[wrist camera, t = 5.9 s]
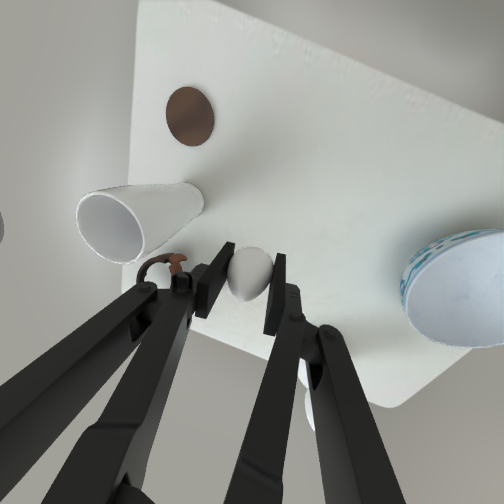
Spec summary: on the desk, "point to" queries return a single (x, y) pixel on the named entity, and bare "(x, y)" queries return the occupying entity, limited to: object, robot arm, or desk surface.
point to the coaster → (189, 116)
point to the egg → (249, 273)
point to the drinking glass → (135, 218)
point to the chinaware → (458, 289)
